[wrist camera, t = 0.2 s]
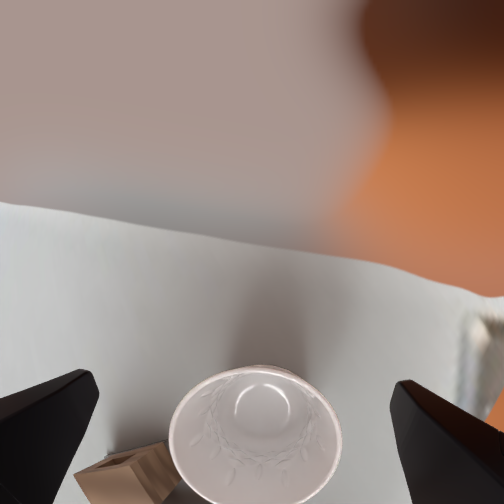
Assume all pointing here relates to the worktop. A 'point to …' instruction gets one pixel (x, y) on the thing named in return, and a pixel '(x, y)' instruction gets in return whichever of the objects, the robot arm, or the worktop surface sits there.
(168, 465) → the bearing block
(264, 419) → the white cup
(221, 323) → the worktop surface
